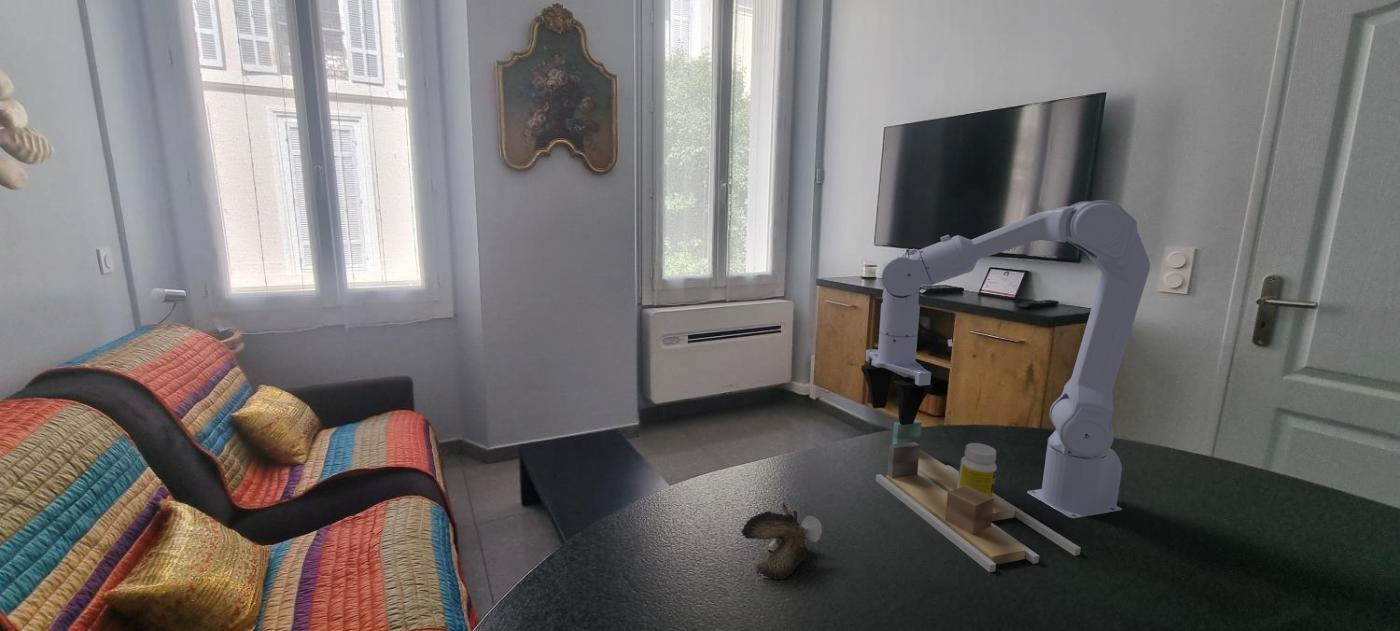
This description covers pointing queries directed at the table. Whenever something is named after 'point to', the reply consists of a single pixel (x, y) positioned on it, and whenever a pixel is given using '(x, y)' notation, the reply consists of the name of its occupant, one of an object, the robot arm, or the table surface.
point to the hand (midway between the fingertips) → (892, 415)
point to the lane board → (1018, 514)
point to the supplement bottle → (978, 468)
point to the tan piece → (941, 468)
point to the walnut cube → (969, 509)
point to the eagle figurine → (782, 540)
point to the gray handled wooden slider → (944, 504)
